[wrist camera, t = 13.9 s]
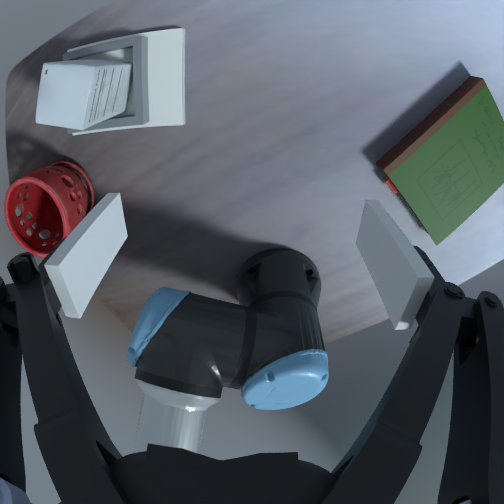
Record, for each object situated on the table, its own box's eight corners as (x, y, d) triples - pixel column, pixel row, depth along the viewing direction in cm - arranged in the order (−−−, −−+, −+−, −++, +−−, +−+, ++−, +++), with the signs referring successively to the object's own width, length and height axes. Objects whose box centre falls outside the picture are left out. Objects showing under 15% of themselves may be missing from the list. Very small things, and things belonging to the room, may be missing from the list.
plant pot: (114, 208, 47) (82, 247, 37) (62, 229, 49) (30, 267, 39) (82, 138, 40) (39, 163, 30) (32, 169, 42) (-9, 198, 32)
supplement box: (84, 105, 35) (32, 123, 25) (93, 57, 32) (41, 61, 21) (126, 113, 37) (82, 132, 26) (138, 63, 33) (95, 64, 22)
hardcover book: (469, 75, 33) (482, 78, 30) (508, 158, 40) (520, 165, 37) (370, 165, 43) (379, 173, 40) (424, 237, 50) (433, 248, 47)
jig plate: (185, 123, 39) (178, 128, 36) (77, 133, 39) (64, 139, 36) (185, 29, 32) (178, 25, 28) (72, 49, 31) (58, 50, 28)
